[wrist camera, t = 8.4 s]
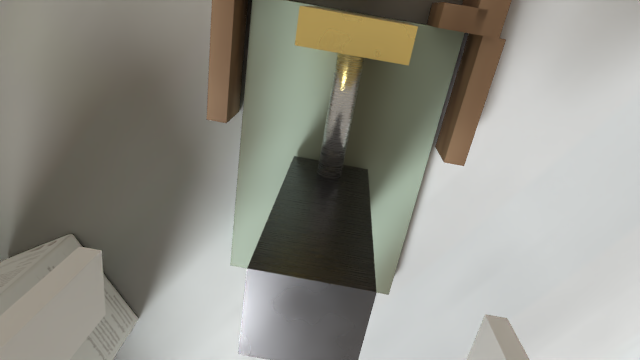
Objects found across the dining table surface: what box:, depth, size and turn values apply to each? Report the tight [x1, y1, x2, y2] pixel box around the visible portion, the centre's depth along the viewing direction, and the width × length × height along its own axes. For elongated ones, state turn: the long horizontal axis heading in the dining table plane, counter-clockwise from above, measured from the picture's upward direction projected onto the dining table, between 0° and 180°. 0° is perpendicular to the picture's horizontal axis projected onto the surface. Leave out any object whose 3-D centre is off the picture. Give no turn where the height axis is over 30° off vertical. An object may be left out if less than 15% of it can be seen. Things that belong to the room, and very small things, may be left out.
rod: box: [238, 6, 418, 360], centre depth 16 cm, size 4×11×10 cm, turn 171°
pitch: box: [207, 0, 512, 295], centre depth 20 cm, size 13×21×3 cm, turn 171°
